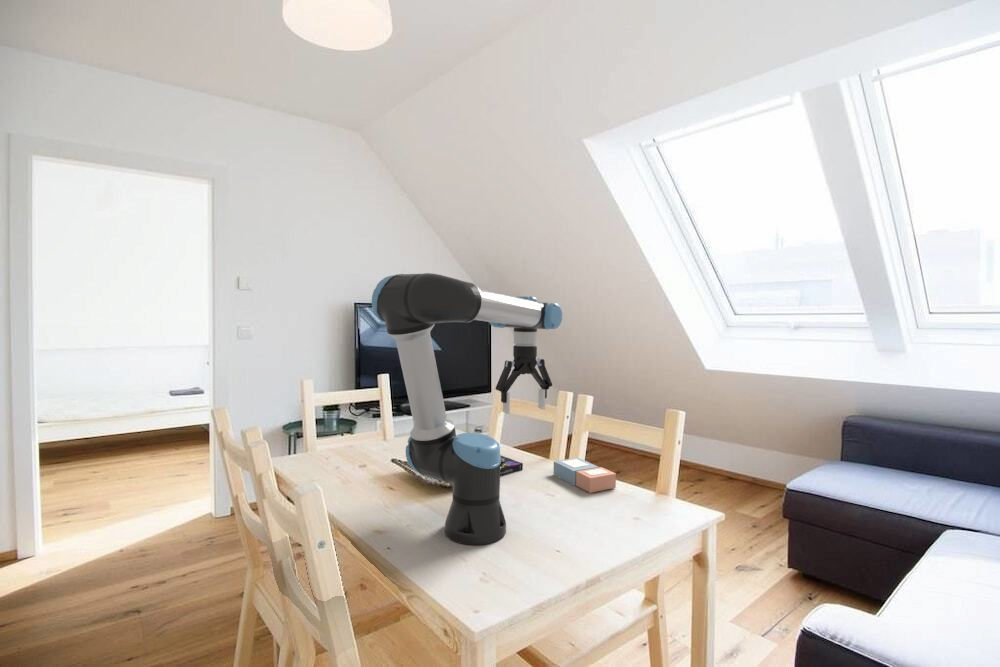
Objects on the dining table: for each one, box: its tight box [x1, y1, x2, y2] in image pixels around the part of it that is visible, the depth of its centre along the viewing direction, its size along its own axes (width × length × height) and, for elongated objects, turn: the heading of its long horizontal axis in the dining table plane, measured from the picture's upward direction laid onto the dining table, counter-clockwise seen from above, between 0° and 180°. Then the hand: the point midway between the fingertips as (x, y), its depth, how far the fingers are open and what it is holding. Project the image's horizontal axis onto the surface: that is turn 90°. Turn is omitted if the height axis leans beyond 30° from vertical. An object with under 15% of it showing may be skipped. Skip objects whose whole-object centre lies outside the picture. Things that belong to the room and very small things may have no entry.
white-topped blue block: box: [552, 457, 600, 487], centre depth 165 cm, size 12×10×5 cm
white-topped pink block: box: [576, 466, 617, 494], centre depth 156 cm, size 7×10×5 cm
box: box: [500, 454, 524, 477], centre depth 170 cm, size 14×4×20 cm
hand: (524, 410), depth 161 cm, fingers open, 13 cm apart
